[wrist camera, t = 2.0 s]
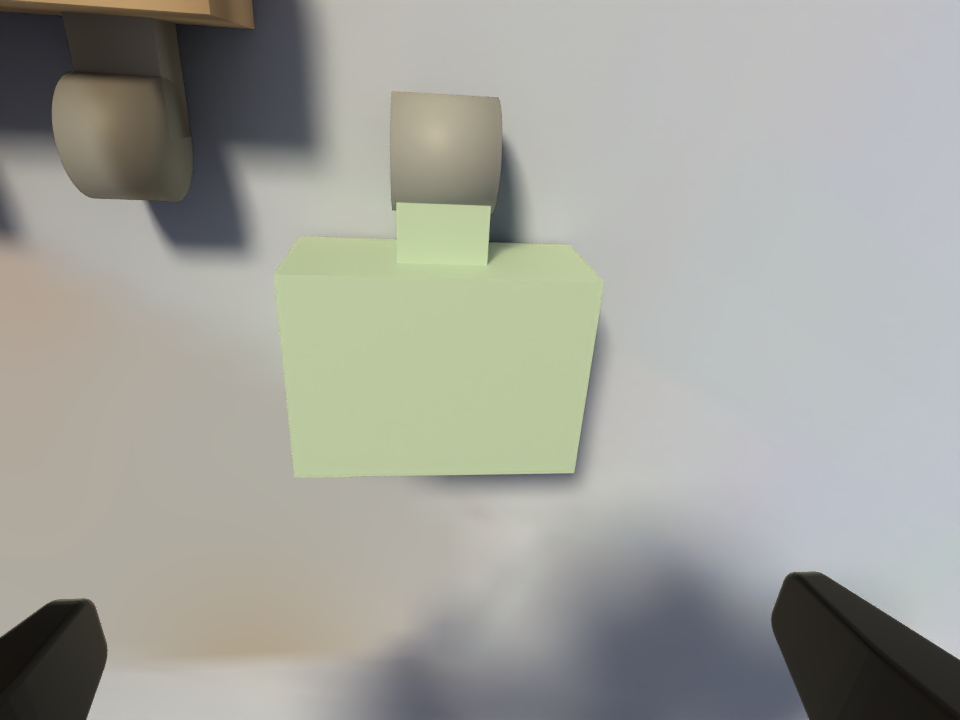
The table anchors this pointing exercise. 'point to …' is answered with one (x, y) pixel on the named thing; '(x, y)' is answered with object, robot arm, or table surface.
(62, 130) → the hinge base
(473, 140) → the hinge leaf
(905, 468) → the table surface
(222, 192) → the table surface
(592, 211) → the table surface
